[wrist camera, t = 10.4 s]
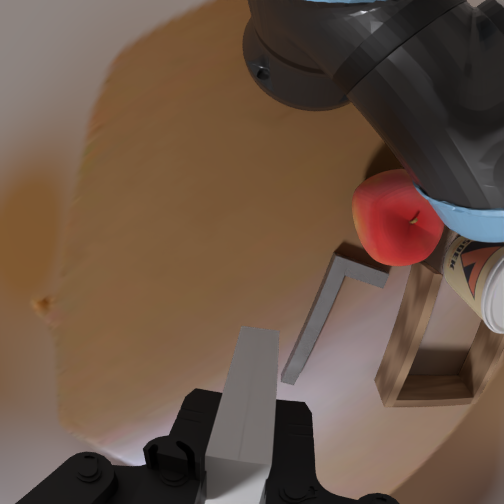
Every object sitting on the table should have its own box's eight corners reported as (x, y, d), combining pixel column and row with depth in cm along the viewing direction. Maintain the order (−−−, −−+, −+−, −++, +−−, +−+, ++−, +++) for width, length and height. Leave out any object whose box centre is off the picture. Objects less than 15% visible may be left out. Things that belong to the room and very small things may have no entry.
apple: (407, 256, 35) (444, 284, 25) (334, 242, 35) (352, 268, 26) (424, 178, 32) (468, 182, 23) (350, 159, 33) (375, 154, 23)
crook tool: (333, 251, 36) (336, 255, 34) (384, 269, 36) (389, 274, 34) (281, 373, 41) (280, 381, 39) (327, 385, 41) (328, 393, 39)
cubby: (413, 258, 35) (434, 273, 29) (502, 274, 34) (526, 288, 28) (374, 380, 40) (384, 407, 34) (460, 381, 39) (475, 403, 33)
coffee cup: (470, 211, 33) (529, 230, 21) (500, 260, 34) (553, 289, 22) (424, 264, 35) (473, 300, 23) (458, 308, 36) (504, 351, 24)
